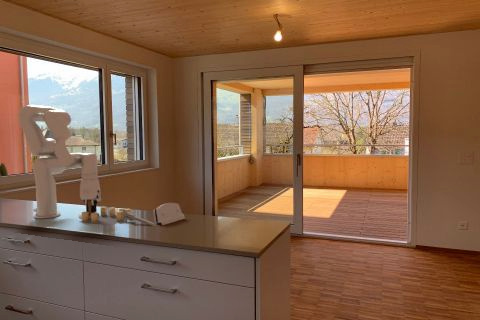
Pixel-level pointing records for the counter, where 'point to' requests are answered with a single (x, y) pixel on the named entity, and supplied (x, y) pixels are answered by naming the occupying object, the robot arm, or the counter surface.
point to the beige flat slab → (168, 213)
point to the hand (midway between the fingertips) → (91, 211)
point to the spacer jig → (105, 216)
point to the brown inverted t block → (90, 209)
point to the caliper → (135, 218)
